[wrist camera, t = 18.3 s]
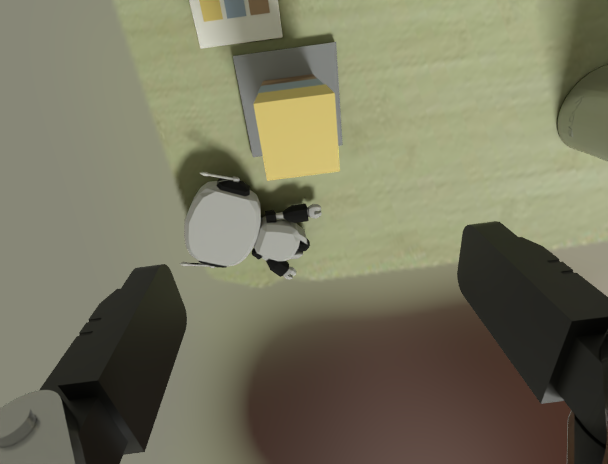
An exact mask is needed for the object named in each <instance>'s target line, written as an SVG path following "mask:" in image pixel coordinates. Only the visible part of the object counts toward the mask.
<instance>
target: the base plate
mask: <svg viewBox="0 0 608 464" xmlns="http://www.w3.org/2000/svg"><path fill="white" fill-rule="evenodd" d="M233 59H234V65H235V70H236V75H237V80H238V85H239V90H240V95H241V100H242V105H243V110H244V115H245V120H246V125H247V130H248V135H249V140H250V145H251V150H252V155H253V157H258V156H263V155H262V149H261V143H260V138H259V132H258V127H257V121H256V116H255V110H254V101H255V99H256V97H257V93H258V91H259V89H260V86H261V84H262V82H263V81H266V80H273V79H280V78H288V77H295V76H302V75H310V74H313V75H314V76H315V77H316V78H318V79H319V80H320V81H321V82H322V83H323V84H326V85H327V86H328V87H329V88H330V89H331V90H332V91H333V92H334V93H335V103H336V119H337V134H338V146H340V145H342V130H341V114H340V98H339V82H338V66H337V50H336V42H332V43H324V44H317V45H310V46H303V47H295V48H288V49H281V50H273V51H266V52H259V53H251V54H244V55H237V56H233Z"/></svg>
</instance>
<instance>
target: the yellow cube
mask: <svg viewBox="0 0 608 464" xmlns="http://www.w3.org/2000/svg"><path fill="white" fill-rule="evenodd" d="M254 110H255V116H256V121H257V127H258V132H259V138H260V143H261V149H262V155H263V160H264V166H265V171H266V177H267V181H269V180H277V179H285V178H292V177H300V176H308V175H316V174H323V173H331V172H339V171H340V165H339V149H338V134H337V119H336V103H335V93H334V92H333V91H332V90H331V89H330V88H329V87H328V86H327V85H326V84H324V85H316V86H308V87H301V88H293V89H286V90H278V91H270V92H263V93H258V95H257V97H256V99H255V101H254Z"/></svg>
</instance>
